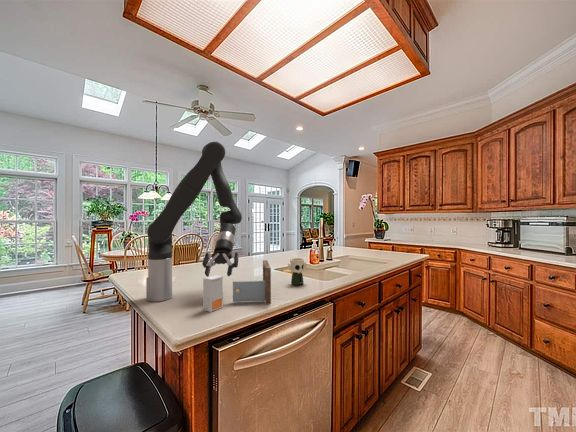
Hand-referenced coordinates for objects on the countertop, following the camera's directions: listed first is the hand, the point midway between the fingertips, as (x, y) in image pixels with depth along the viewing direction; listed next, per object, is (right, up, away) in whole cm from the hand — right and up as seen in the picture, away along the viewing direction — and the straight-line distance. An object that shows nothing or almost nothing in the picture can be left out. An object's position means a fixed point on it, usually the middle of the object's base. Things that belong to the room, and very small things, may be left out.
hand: (217, 275), depth 103 cm
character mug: (+33, -11, +29) cm, 45 cm away
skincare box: (0, -12, -6) cm, 13 cm away
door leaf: (+13, -11, +1) cm, 17 cm away
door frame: (+19, -11, +9) cm, 24 cm away
